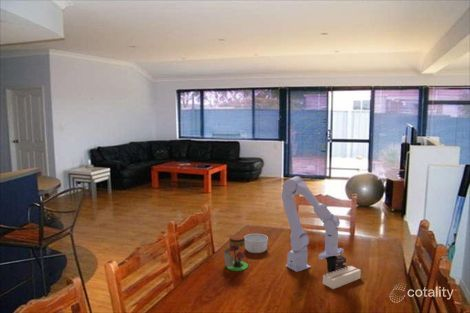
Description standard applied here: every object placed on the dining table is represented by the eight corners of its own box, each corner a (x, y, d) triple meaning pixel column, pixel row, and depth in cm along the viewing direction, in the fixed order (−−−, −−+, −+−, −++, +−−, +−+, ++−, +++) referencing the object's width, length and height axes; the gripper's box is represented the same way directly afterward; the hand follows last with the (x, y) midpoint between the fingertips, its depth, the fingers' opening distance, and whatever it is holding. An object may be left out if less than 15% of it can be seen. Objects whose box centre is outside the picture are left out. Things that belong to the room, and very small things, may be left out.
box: (334, 274, 176) (335, 259, 175) (326, 269, 182) (328, 254, 181) (345, 273, 178) (346, 258, 177) (337, 268, 184) (339, 253, 183)
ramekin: (261, 256, 199) (261, 243, 198) (239, 251, 206) (239, 238, 205) (272, 248, 210) (272, 235, 210) (251, 243, 217) (251, 231, 216)
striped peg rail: (333, 289, 163) (333, 279, 162) (322, 283, 168) (323, 274, 167) (360, 278, 173) (360, 269, 172) (349, 273, 178) (350, 265, 177)
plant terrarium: (243, 259, 195) (243, 231, 193) (252, 269, 183) (252, 239, 181) (221, 263, 191) (220, 234, 189) (229, 273, 179) (229, 242, 177)
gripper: (326, 248, 168) (326, 277, 170) (348, 241, 176) (348, 269, 178) (315, 243, 174) (314, 272, 176) (337, 237, 182) (336, 264, 184)
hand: (330, 270), depth 177 cm, fingers closed, pressing on box
